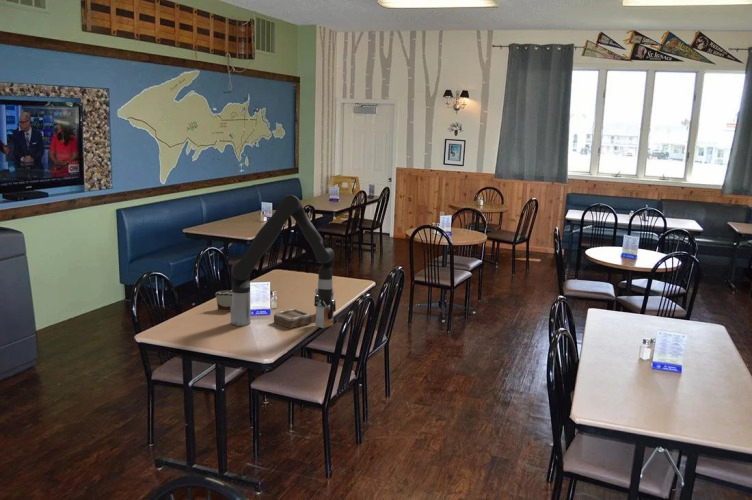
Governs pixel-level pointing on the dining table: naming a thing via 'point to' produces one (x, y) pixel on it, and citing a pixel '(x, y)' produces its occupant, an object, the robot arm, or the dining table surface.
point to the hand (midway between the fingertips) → (324, 317)
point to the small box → (323, 317)
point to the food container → (224, 300)
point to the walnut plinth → (292, 318)
